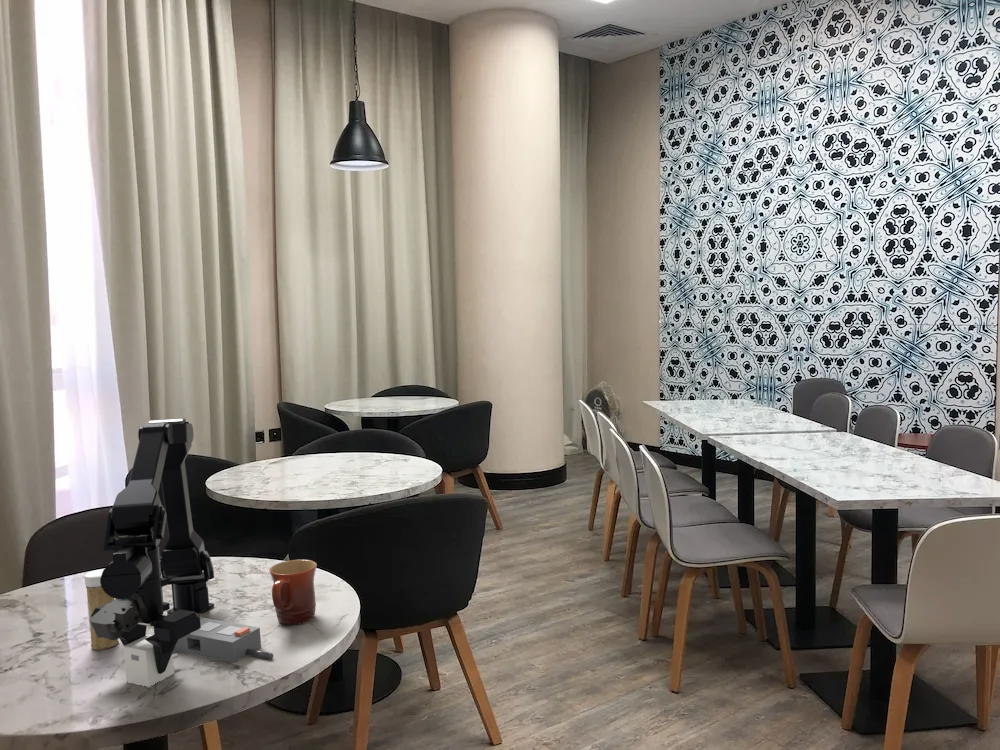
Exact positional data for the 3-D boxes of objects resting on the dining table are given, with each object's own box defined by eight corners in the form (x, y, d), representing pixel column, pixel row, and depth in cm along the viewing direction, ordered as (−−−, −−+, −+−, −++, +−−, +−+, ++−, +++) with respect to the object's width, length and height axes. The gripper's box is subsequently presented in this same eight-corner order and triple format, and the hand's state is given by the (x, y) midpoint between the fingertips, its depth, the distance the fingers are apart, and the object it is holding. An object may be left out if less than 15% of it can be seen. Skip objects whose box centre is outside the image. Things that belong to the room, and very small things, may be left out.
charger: (126, 682, 128) (123, 646, 127) (163, 662, 135) (160, 628, 134) (148, 687, 126) (145, 651, 125) (185, 667, 132) (182, 632, 132)
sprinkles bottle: (105, 651, 140) (98, 577, 139) (84, 649, 142) (78, 575, 141) (124, 641, 145) (118, 569, 143) (104, 638, 146) (98, 567, 145)
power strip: (157, 646, 141) (155, 624, 141) (186, 632, 147) (184, 611, 147) (259, 667, 131) (257, 643, 131) (285, 651, 137) (284, 628, 137)
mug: (286, 609, 157) (282, 558, 156) (327, 611, 155) (324, 559, 154) (255, 634, 145) (251, 579, 144) (300, 636, 143) (296, 581, 142)
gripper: (56, 586, 124) (65, 682, 126) (141, 601, 116) (149, 703, 118) (117, 564, 134) (125, 653, 136) (199, 576, 126) (206, 671, 128)
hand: (149, 670), depth 129 cm, fingers closed on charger, 5 cm apart
